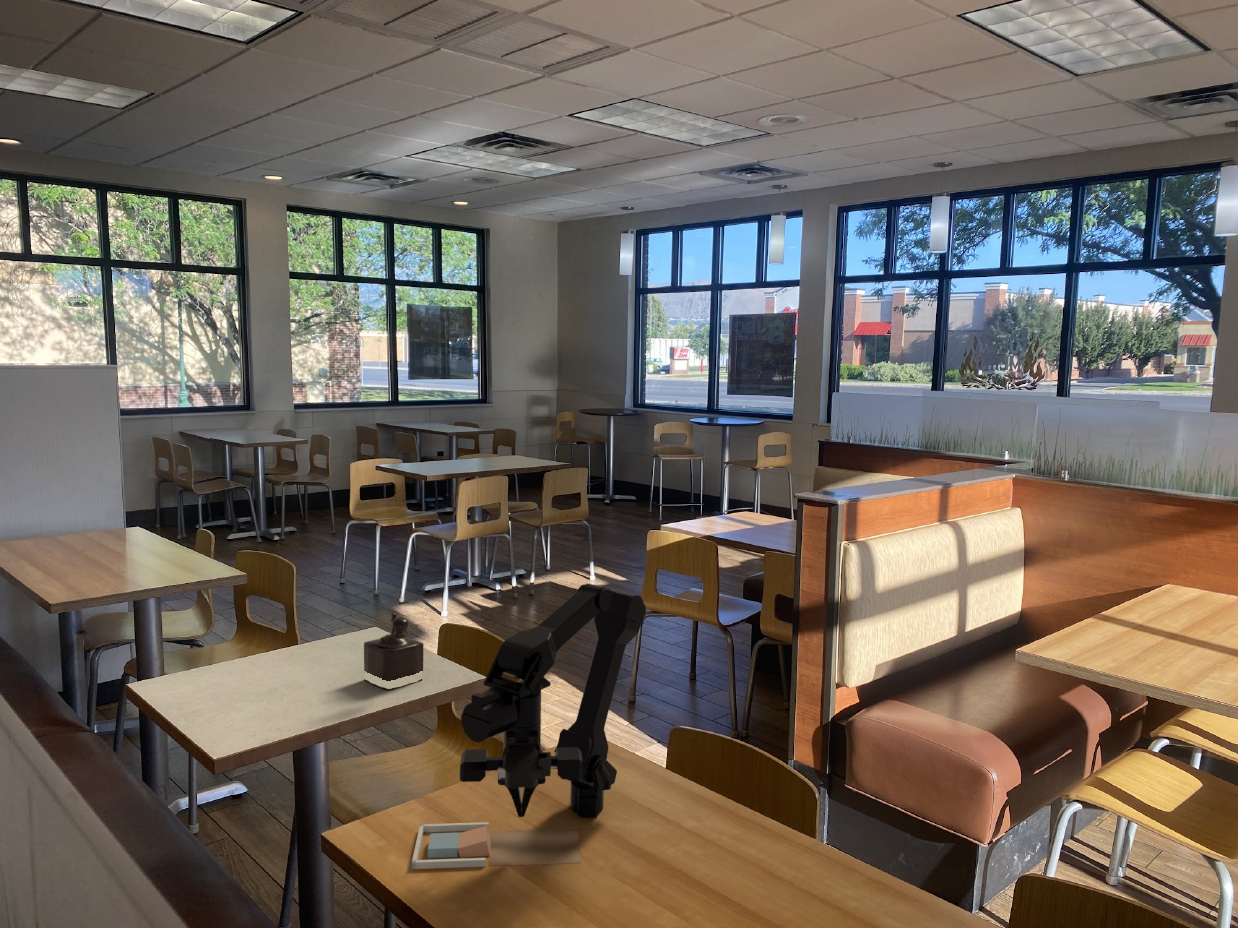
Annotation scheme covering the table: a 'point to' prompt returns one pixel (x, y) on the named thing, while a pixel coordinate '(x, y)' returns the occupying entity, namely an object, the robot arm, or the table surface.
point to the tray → (446, 862)
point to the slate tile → (443, 845)
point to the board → (534, 847)
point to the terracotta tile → (474, 842)
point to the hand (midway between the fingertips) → (521, 815)
